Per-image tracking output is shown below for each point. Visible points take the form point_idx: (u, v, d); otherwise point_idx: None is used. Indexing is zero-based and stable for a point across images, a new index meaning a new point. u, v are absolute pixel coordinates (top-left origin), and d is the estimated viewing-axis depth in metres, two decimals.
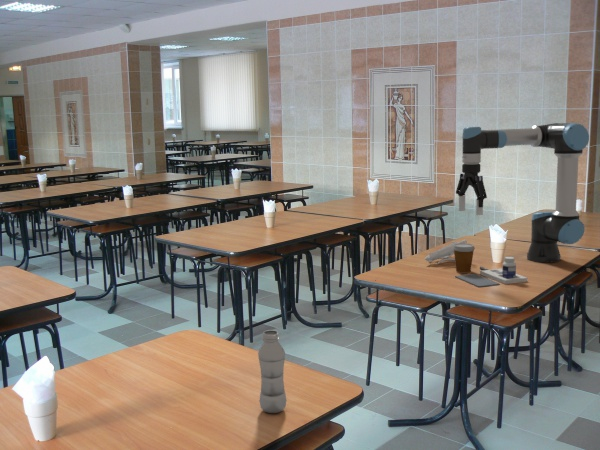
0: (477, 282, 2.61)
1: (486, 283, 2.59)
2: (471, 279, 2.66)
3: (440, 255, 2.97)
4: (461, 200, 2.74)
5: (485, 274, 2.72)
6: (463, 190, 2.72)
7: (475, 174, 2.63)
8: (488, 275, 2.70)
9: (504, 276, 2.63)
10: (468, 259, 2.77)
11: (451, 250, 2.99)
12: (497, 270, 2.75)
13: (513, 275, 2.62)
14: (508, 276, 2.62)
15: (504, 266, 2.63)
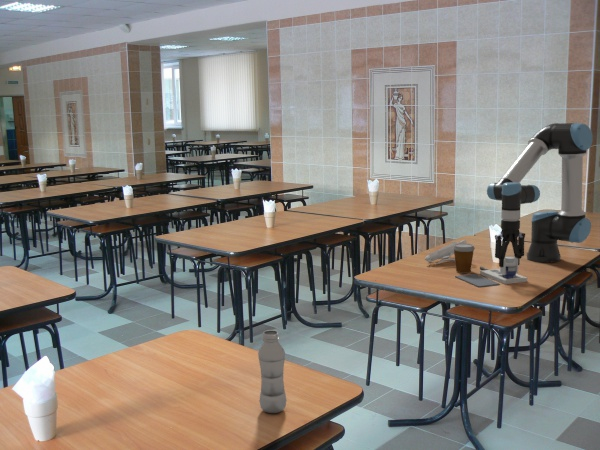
0: (477, 282, 2.61)
1: (486, 283, 2.59)
2: (471, 279, 2.66)
3: (440, 255, 2.96)
4: None
5: (485, 274, 2.72)
6: (514, 249, 2.64)
7: (501, 231, 2.60)
8: (488, 275, 2.70)
9: (504, 276, 2.63)
10: (468, 259, 2.77)
11: (451, 250, 2.99)
12: (497, 270, 2.75)
13: (513, 275, 2.62)
14: (507, 276, 2.62)
15: None
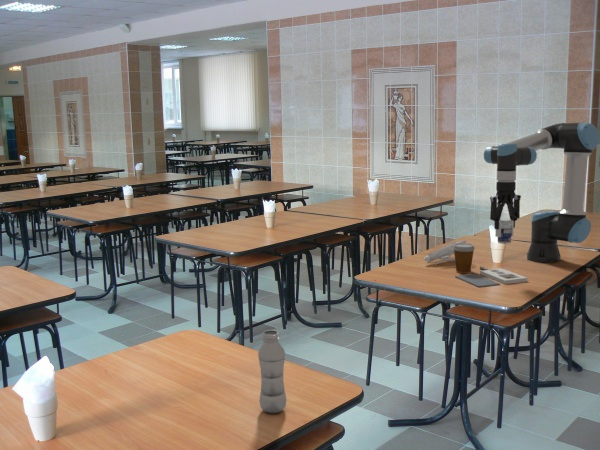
0: (477, 282, 2.61)
1: (486, 283, 2.59)
2: (471, 279, 2.66)
3: (439, 255, 2.96)
4: (509, 224, 2.62)
5: (485, 274, 2.72)
6: (509, 212, 2.61)
7: None
8: (488, 275, 2.70)
9: (499, 238, 2.60)
10: (468, 259, 2.77)
11: (450, 250, 2.98)
12: (497, 270, 2.75)
13: (508, 237, 2.59)
14: (503, 239, 2.59)
15: None
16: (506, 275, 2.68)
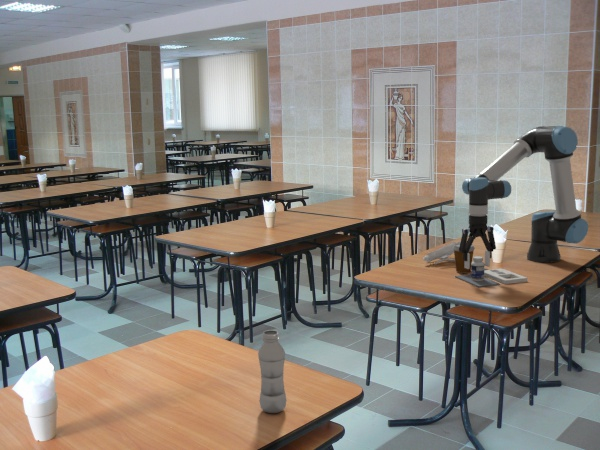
0: (477, 282, 2.61)
1: (486, 283, 2.59)
2: (471, 279, 2.66)
3: (438, 255, 2.97)
4: (485, 255, 2.65)
5: (485, 274, 2.72)
6: (485, 243, 2.64)
7: (469, 226, 2.60)
8: (488, 275, 2.70)
9: (472, 276, 2.63)
10: None
11: (449, 250, 2.99)
12: (497, 270, 2.75)
13: (481, 275, 2.62)
14: (476, 276, 2.62)
15: (472, 266, 2.63)
16: (506, 275, 2.68)
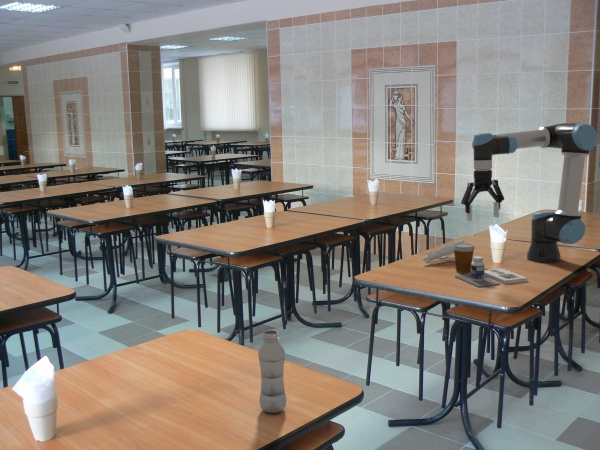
0: (477, 282, 2.61)
1: (486, 283, 2.59)
2: (471, 279, 2.66)
3: (437, 255, 2.97)
4: (494, 206, 2.72)
5: (485, 274, 2.72)
6: (492, 196, 2.70)
7: (475, 180, 2.66)
8: (488, 275, 2.70)
9: (472, 276, 2.63)
10: (468, 259, 2.77)
11: (449, 250, 2.99)
12: (497, 270, 2.75)
13: (481, 275, 2.62)
14: (476, 276, 2.62)
15: (472, 266, 2.63)
16: (506, 275, 2.68)
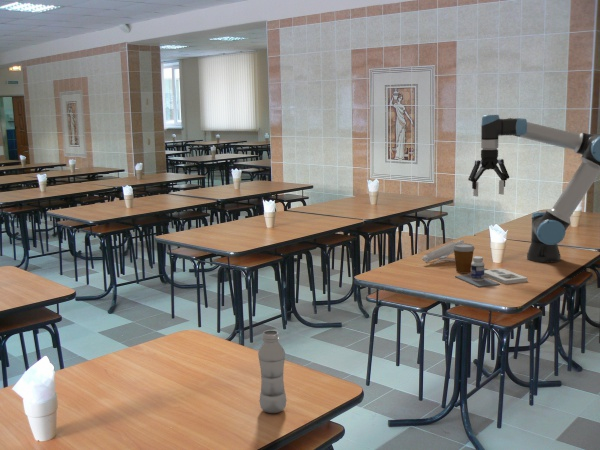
0: (477, 282, 2.61)
1: (486, 283, 2.59)
2: (471, 279, 2.66)
3: (437, 255, 2.97)
4: (500, 184, 2.90)
5: (485, 274, 2.72)
6: (498, 174, 2.88)
7: (481, 159, 2.84)
8: (488, 275, 2.70)
9: (472, 276, 2.63)
10: (468, 259, 2.77)
11: (448, 250, 2.99)
12: (497, 270, 2.75)
13: (481, 275, 2.62)
14: (476, 276, 2.62)
15: (472, 266, 2.63)
16: (506, 275, 2.68)
